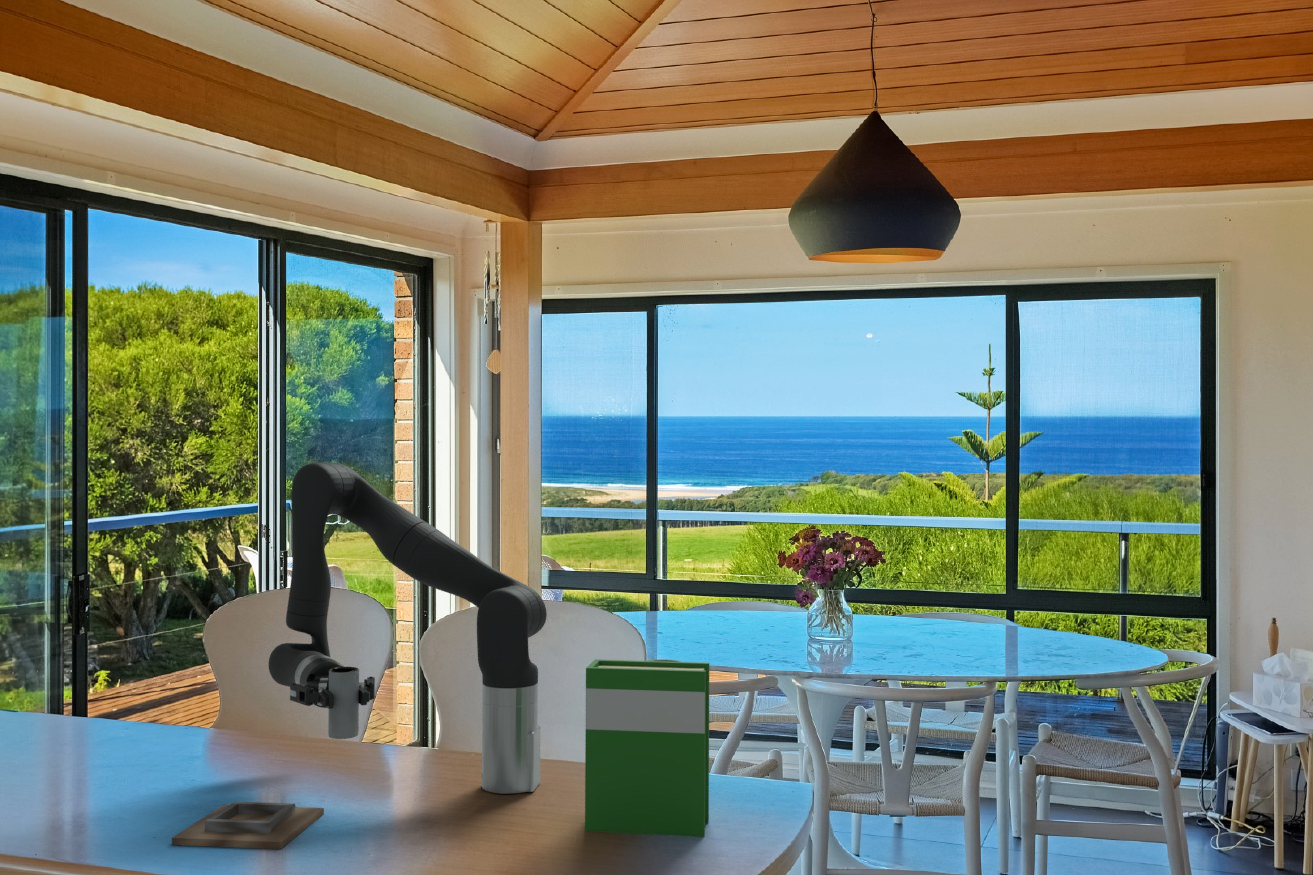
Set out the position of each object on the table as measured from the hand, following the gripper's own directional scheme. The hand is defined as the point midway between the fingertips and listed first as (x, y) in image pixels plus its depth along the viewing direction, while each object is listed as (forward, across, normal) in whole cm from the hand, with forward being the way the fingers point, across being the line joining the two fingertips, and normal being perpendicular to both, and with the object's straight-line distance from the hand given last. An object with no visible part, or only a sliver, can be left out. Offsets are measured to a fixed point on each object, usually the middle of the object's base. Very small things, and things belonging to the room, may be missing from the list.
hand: (348, 700), depth 181 cm
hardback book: (+26, +38, +18) cm, 50 cm away
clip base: (0, -14, +18) cm, 23 cm away
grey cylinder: (-3, 0, +6) cm, 7 cm away
